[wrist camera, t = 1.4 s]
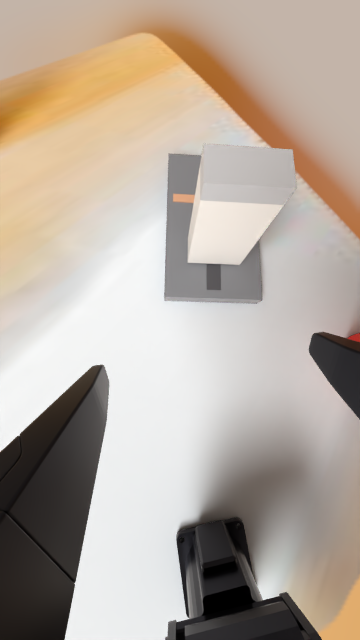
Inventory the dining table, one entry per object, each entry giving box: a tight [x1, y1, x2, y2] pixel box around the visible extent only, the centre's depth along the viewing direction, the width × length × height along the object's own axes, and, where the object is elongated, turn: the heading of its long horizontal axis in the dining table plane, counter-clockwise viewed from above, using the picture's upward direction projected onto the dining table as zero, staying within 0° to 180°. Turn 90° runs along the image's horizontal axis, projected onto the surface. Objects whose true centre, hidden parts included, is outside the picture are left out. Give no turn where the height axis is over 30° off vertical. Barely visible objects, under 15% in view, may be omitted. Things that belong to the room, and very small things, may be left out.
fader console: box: [164, 154, 262, 304], centre depth 26 cm, size 19×11×2 cm, turn 179°
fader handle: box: [188, 143, 297, 265], centre depth 19 cm, size 3×6×11 cm, turn 89°
